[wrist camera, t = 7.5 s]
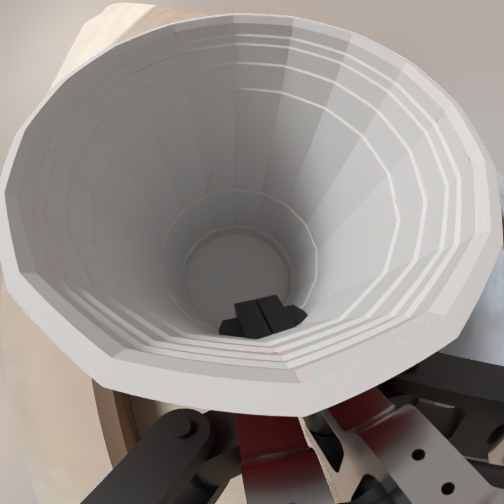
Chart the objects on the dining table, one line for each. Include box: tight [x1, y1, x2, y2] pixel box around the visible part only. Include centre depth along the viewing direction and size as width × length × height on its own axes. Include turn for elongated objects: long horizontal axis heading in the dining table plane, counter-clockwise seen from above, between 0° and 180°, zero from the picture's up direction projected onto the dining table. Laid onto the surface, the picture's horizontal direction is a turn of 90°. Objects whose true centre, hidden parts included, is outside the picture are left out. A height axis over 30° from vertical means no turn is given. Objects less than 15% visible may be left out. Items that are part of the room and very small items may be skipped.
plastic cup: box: [0, 13, 503, 417], centre depth 10 cm, size 11×11×12 cm
